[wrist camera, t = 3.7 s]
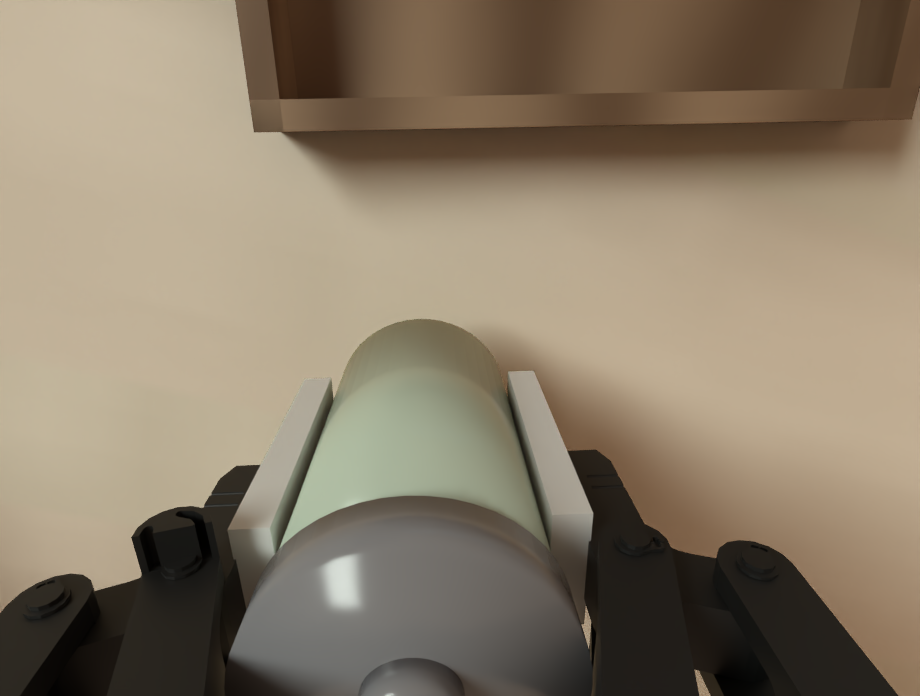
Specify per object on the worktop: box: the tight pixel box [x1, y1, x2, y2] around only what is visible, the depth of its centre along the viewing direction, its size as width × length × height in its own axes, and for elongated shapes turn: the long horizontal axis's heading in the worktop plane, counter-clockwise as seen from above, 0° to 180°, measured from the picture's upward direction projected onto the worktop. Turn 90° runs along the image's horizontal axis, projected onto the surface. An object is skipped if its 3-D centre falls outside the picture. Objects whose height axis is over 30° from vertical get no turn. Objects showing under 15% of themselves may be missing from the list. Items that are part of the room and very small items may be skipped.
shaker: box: [224, 319, 593, 696], centre depth 13 cm, size 6×6×11 cm
